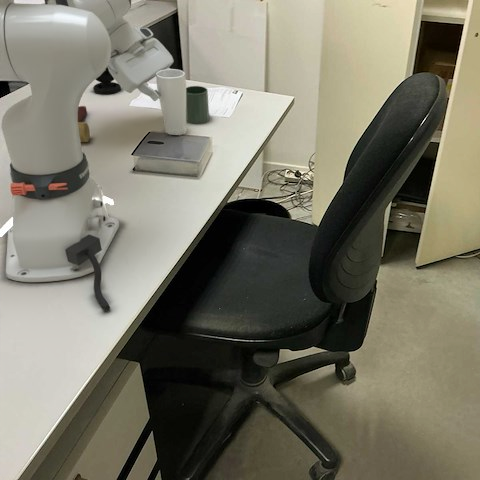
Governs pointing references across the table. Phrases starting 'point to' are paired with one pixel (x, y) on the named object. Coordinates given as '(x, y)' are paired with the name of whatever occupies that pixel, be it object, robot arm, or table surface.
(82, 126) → the gavel
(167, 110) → the drinking glass
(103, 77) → the webcam
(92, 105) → the table surface
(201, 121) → the tin
